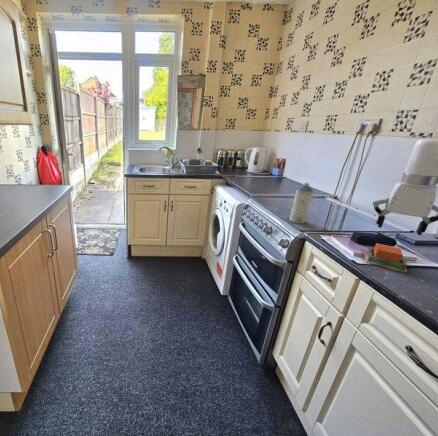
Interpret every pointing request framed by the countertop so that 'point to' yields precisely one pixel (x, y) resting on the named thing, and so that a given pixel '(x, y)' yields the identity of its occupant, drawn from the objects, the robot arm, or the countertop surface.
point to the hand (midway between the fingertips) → (398, 230)
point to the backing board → (384, 261)
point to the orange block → (387, 253)
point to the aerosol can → (301, 204)
